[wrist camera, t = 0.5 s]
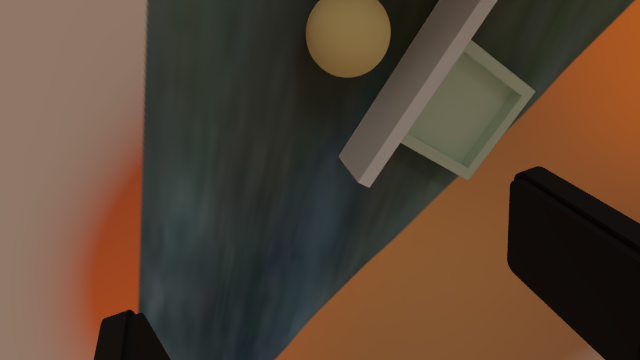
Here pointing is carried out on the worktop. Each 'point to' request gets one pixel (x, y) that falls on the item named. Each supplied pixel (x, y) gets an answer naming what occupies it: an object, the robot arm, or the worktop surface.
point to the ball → (348, 36)
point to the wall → (412, 85)
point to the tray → (468, 112)
